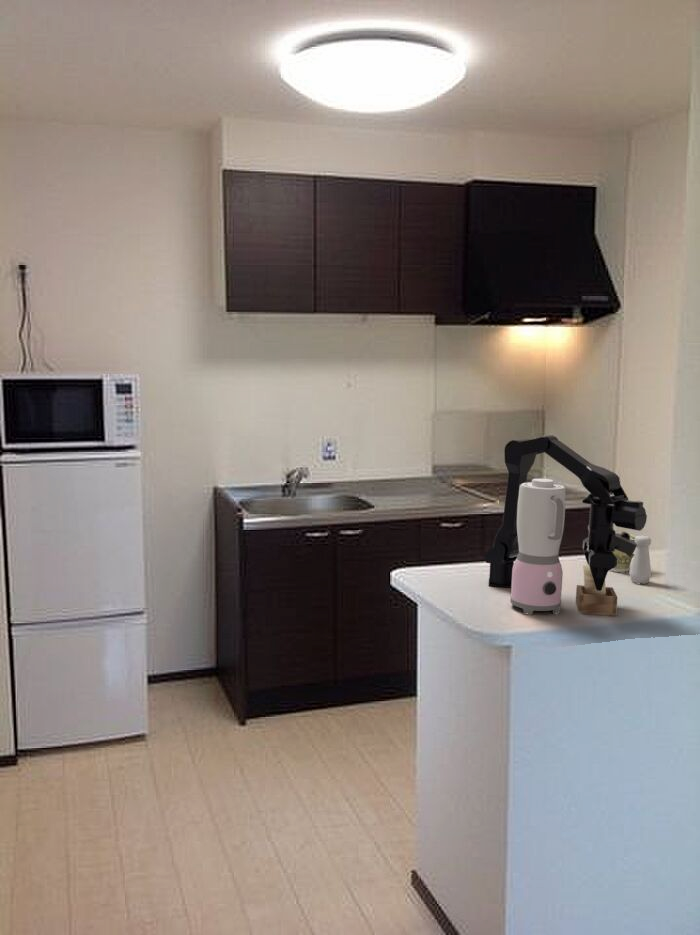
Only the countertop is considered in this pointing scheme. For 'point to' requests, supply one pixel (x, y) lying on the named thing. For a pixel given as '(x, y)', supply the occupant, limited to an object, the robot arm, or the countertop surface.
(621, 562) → the ceramic cup
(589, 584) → the beech peg
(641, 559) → the salt shaker
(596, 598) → the wooden square box
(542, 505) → the blender
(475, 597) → the countertop surface
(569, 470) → the robot arm
